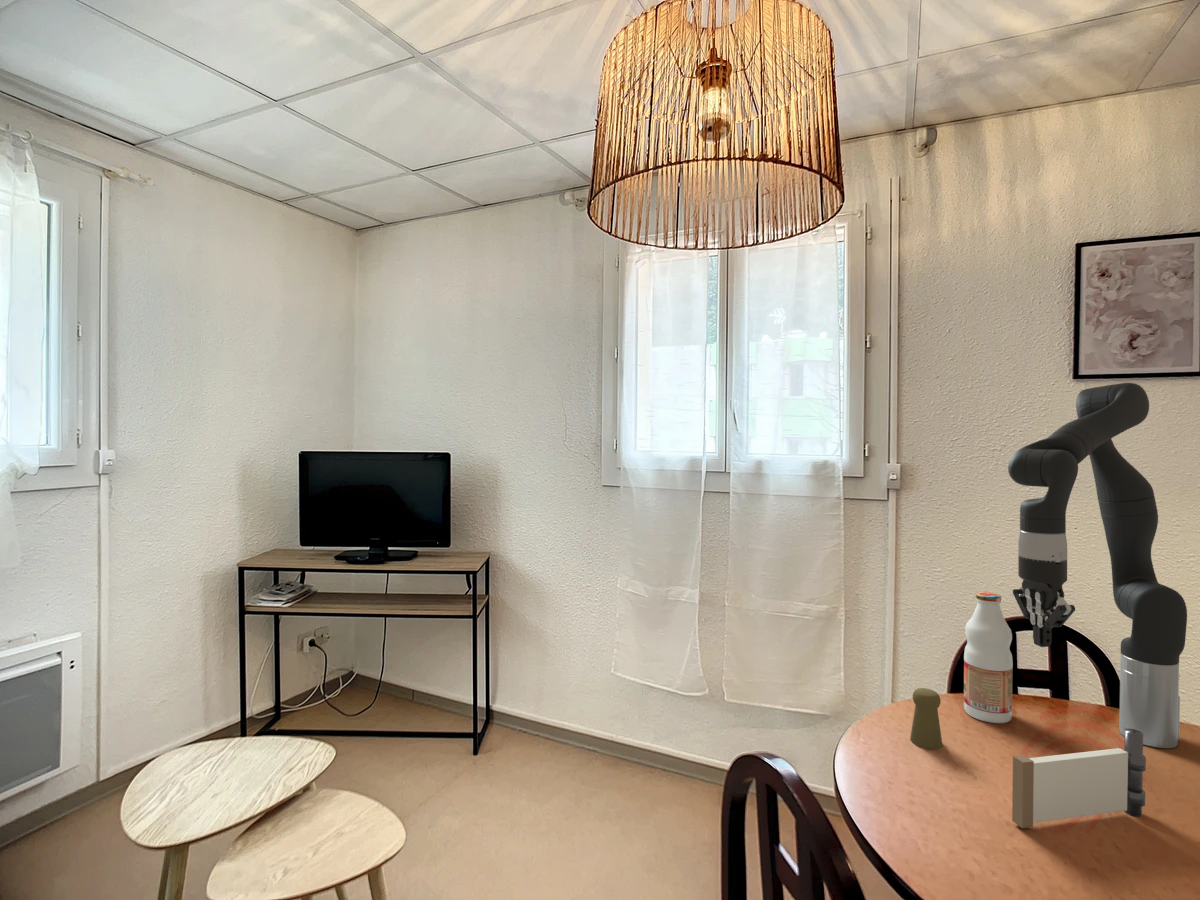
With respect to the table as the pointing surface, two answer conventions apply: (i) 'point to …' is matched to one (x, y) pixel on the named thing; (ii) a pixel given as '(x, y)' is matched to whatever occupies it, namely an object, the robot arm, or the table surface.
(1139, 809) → the gate post
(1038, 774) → the gate
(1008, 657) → the fruit juice
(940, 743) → the olive green pawn
